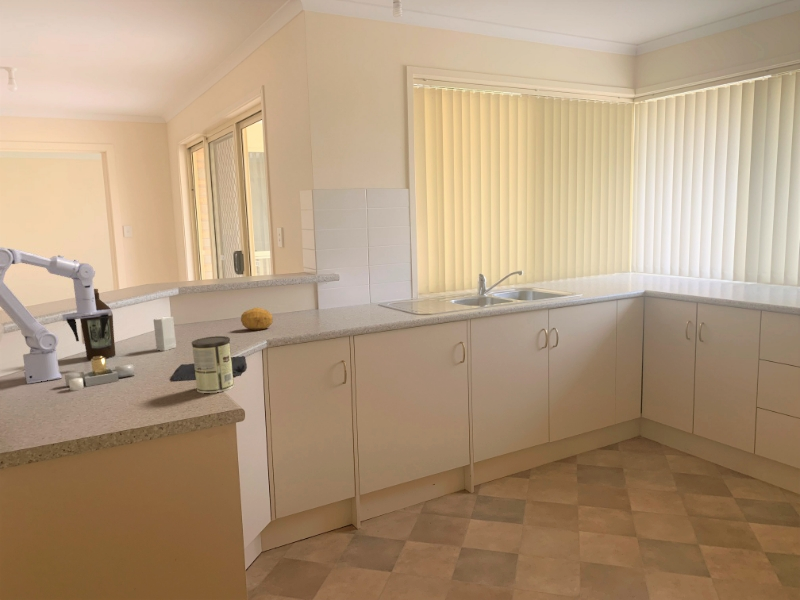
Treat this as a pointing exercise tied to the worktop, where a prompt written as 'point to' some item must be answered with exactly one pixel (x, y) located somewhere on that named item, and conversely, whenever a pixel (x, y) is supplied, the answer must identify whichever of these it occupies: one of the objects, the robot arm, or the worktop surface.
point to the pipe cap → (76, 384)
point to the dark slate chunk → (188, 373)
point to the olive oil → (98, 333)
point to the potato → (256, 319)
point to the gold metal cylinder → (98, 365)
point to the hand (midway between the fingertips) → (90, 339)
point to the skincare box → (164, 333)
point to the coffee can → (213, 364)
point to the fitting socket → (101, 379)
